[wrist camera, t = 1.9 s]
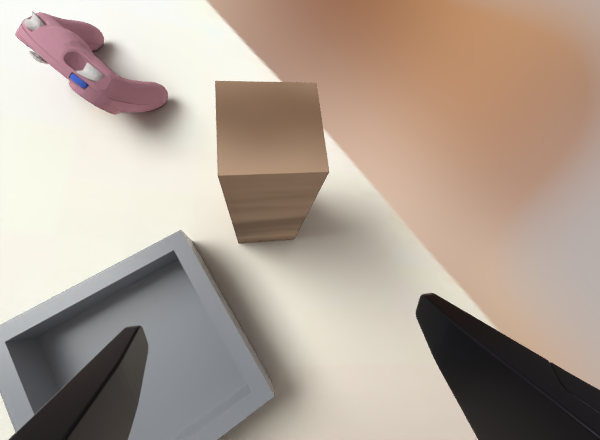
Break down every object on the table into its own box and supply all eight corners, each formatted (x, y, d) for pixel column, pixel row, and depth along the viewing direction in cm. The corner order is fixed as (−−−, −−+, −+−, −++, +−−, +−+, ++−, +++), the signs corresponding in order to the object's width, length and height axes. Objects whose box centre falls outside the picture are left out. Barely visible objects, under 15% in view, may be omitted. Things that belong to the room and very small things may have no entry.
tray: (272, 381, 21) (274, 396, 17) (101, 509, 17) (63, 556, 14) (192, 241, 23) (180, 229, 19) (26, 331, 19) (-22, 336, 16)
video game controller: (75, 71, 27) (-17, 26, 20) (101, 30, 27) (14, -31, 20) (148, 137, 26) (77, 114, 19) (177, 96, 26) (114, 57, 19)
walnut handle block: (293, 239, 24) (329, 171, 12) (238, 243, 23) (217, 175, 11) (288, 188, 25) (316, 83, 13) (236, 191, 24) (215, 81, 12)
